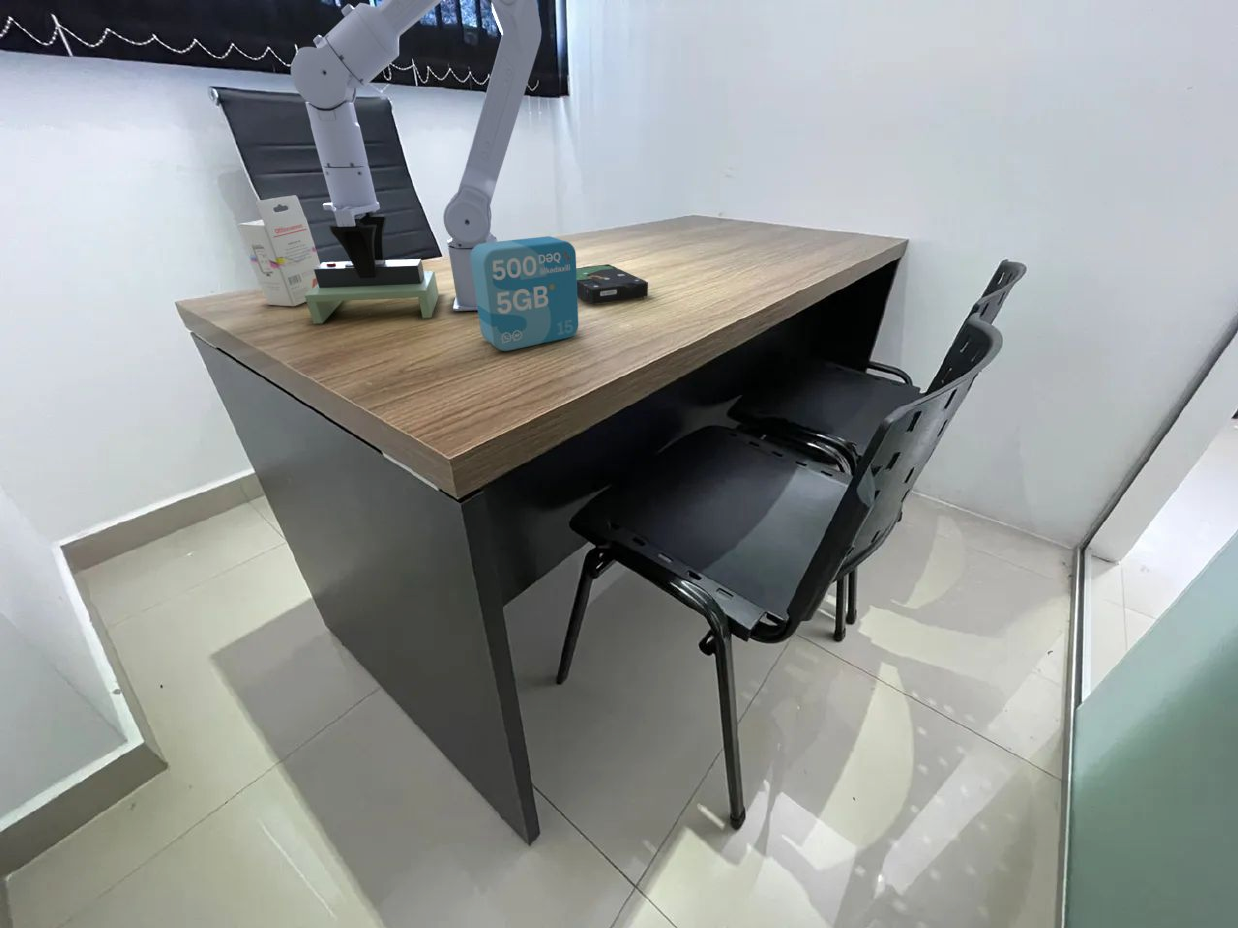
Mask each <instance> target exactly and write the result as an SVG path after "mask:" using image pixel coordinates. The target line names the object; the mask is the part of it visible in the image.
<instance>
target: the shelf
mask: <svg viewBox="0 0 1238 928" xmlns="http://www.w3.org/2000/svg"><path fill="white" fill-rule="evenodd" d="M423 271H424V278H423V280H422V282H421V284H403V285H379V286H355V287H331V288H319V285H318V284H317V285H316V286H315V287H314V288H312V289H311V290H310V291H309V292H308V293H307V294H306V295H305V299H306V302H305V303H306V304H307V308H308V310H309V313H310V316H311V320H312V323H313V324H314V325H316V324H317V325H318V324H324V322H326V320H327V319H328V318H329V317H330V316H331V315H332V314H333V312H335V310H336V309H337V308H338V307H339V306H340V304H342V302H347V301H348V302H350V301H351V302H352V301H369V300H370V301H371V300H390V299H416V298H418V302H419V306H420V311H421V312H420V313H421V317H422V319H431V318H432V316H433V313H434V310H435V307H436V305H437V302H438V299H439V296H440V294H439V289H438V284H437V278H436V273H435V270H423Z"/></svg>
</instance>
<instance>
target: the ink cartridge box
mask: <svg viewBox="0 0 1238 928" xmlns="http://www.w3.org/2000/svg"><path fill="white" fill-rule="evenodd" d="M279 205H280V206H281V207H287V209H285V210H283V211H275V209H274V208H278V207H279ZM255 206H256V208H257V210H258V212H259V214H260V215H259V216H260V217H261V219H259V220H258V219H257V220H253V221H249V222H242V223H237V224H236V225H237V228H238V231H239V233H240V236H241V239H242V241H243V244H244V246H245V249H246V252H247V253H248V256H249V259H250V262H251V264H252V266H253V269H254V273H255V274H256V277H257V280H258V282H259V285H260V287H261V290H262V292H263V295H264V297H265V300H266V303H267V305H268V306H279V307H280V306H281V307H282V306H283V307H297V306H299V305H301V304H304V303H307V302H306V299H305V295H306V294H307V293H308V292H309V291H310V290H311V289H312V288H314V287H315V286H316V285H317V284H318V282H317V279H316V275H315V272H314V269H315V268H316V267H317V266H319V265H320V264H321V261H320V258H319V255H318V252H317V248H316V245H315V242H314V238H313V236H312V232H311V229H310V226H309V223H308V219H307V217H306V216H305V213H304V211H303V208H302V205H301V202H300V200H299V197H298V196H297V195H296V194H293V195H287V196H279V197H272V198H267V199H261V200H256V202H255Z"/></svg>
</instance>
